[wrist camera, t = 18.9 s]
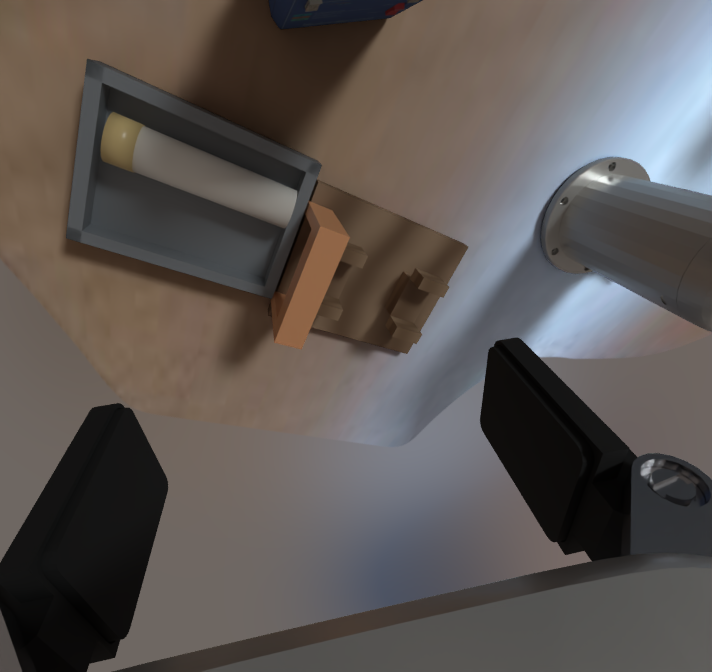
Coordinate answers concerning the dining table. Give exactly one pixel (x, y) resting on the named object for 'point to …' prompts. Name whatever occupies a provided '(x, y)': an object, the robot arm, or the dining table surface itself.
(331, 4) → the electronic device
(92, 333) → the dining table surface
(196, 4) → the dining table surface
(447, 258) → the cradle board
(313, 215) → the orange bracket
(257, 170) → the tray
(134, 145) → the yellow-tipped white cylinder
